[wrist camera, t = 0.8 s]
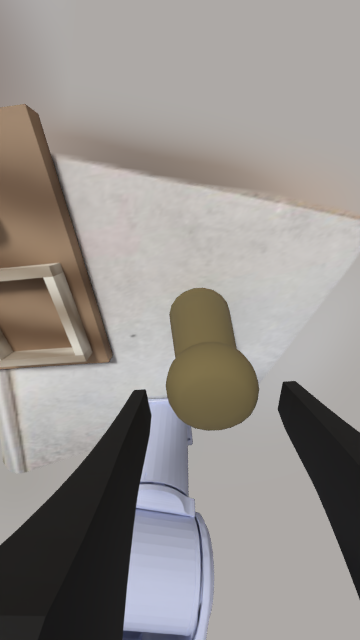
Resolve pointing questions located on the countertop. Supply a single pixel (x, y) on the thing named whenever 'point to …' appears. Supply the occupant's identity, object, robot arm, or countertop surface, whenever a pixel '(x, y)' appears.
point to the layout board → (40, 258)
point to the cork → (208, 364)
